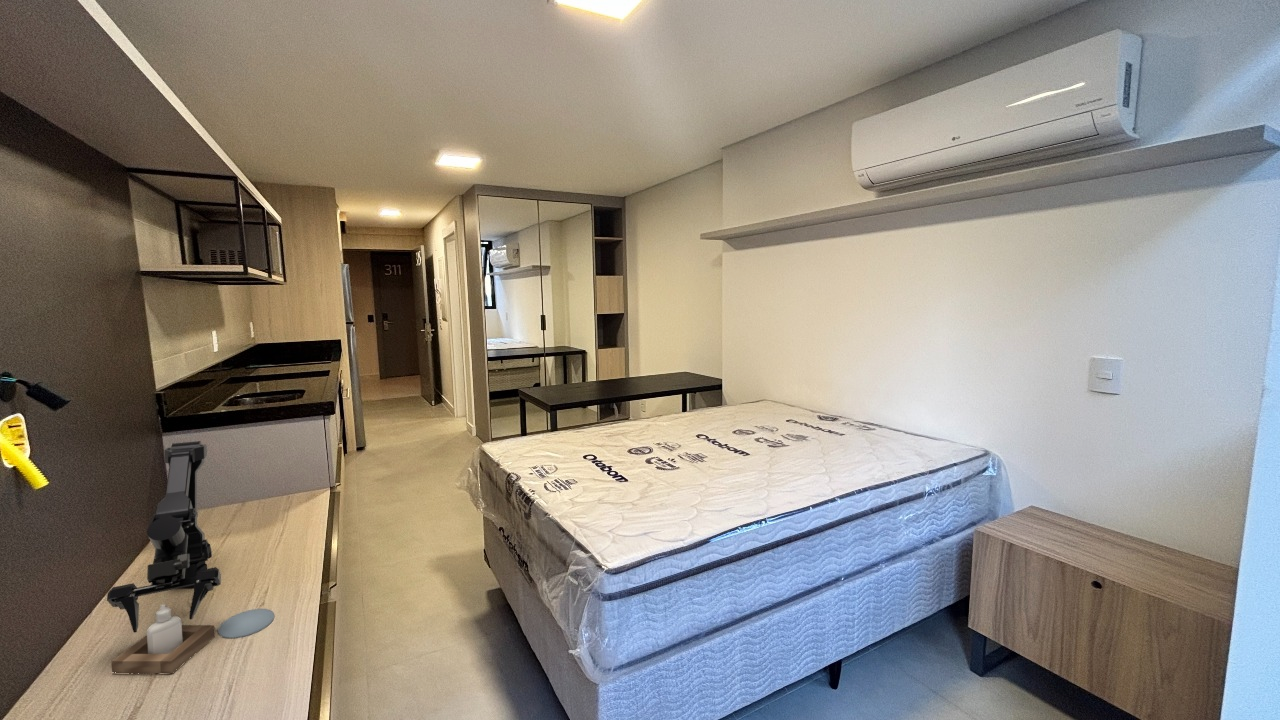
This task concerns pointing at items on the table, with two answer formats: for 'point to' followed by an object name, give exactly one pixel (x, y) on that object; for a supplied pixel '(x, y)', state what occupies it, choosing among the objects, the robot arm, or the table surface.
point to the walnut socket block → (146, 663)
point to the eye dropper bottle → (164, 632)
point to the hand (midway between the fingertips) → (163, 625)
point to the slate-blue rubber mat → (246, 623)
